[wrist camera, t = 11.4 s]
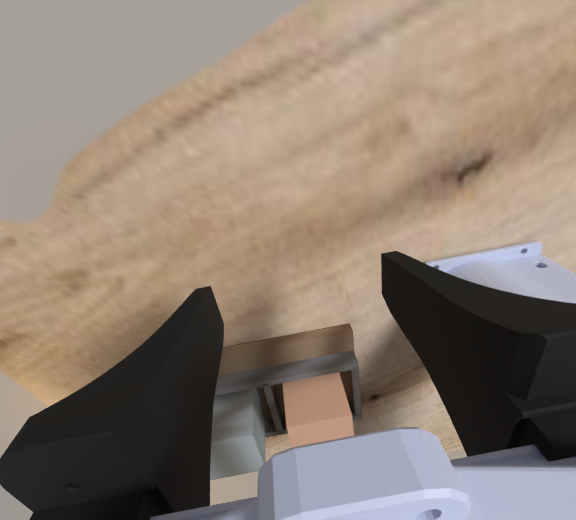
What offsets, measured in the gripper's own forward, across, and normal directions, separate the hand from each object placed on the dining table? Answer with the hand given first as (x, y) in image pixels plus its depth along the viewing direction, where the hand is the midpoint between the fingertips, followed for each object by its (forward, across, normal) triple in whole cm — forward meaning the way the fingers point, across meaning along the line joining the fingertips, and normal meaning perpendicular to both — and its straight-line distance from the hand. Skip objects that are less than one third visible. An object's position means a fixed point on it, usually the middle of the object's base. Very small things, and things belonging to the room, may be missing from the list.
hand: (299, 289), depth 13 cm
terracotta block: (+8, 0, +17) cm, 19 cm away
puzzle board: (+9, +4, +17) cm, 20 cm away
